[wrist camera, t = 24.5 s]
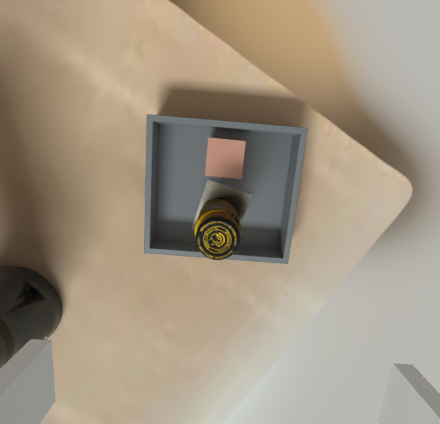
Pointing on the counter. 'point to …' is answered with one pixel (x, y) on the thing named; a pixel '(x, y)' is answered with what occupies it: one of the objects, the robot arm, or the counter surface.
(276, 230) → the tote
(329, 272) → the counter surface
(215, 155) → the cube
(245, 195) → the condiment
